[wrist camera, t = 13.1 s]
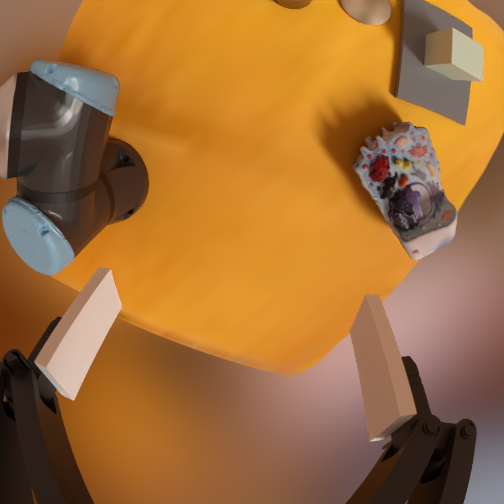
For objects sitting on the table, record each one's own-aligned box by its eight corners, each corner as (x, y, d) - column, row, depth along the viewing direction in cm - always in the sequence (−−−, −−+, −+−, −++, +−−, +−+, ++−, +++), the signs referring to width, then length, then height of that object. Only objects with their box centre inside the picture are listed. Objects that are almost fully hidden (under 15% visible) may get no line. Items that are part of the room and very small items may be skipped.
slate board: (394, 97, 32) (397, 97, 31) (401, -6, 21) (404, -8, 20) (460, 124, 31) (464, 125, 30) (468, 28, 20) (472, 27, 19)
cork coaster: (339, 19, 26) (340, 17, 25) (339, -20, 22) (340, -22, 21) (389, 32, 26) (391, 30, 25) (388, -7, 22) (390, -9, 21)
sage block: (423, 65, 27) (451, 63, 20) (425, 34, 23) (452, 27, 17) (452, 79, 27) (482, 81, 20) (455, 49, 23) (483, 46, 17)
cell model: (414, 277, 36) (352, 166, 29) (393, 242, 45) (335, 150, 38) (477, 232, 30) (431, 112, 24) (447, 205, 39) (398, 107, 33)
